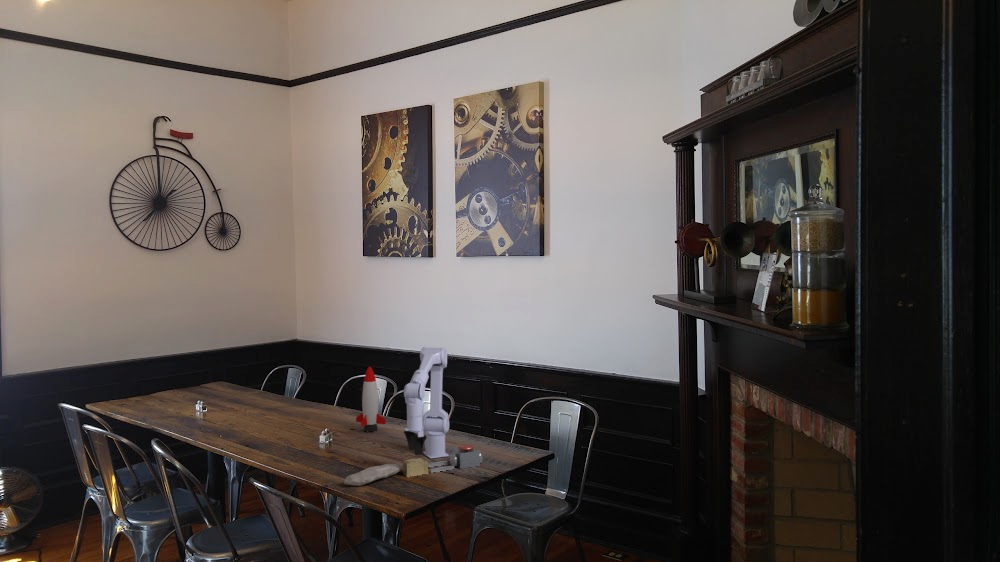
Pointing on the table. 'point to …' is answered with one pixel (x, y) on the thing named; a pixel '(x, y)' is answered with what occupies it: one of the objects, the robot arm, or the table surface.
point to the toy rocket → (370, 404)
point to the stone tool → (372, 474)
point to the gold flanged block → (415, 467)
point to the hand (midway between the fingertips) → (415, 452)
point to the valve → (460, 458)
